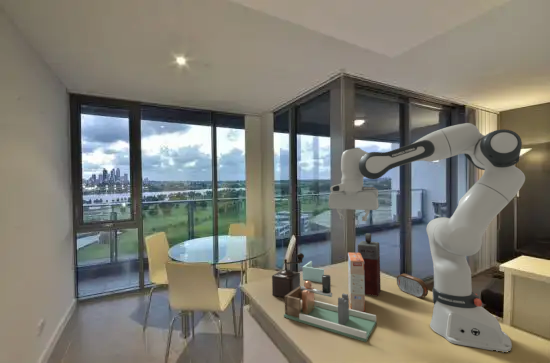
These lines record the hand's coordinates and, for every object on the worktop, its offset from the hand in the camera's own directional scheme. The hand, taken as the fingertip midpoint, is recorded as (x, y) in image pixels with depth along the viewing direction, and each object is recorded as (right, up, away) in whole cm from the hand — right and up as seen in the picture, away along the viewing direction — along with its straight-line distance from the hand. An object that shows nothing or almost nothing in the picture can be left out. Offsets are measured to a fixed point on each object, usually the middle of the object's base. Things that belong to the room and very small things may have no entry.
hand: (353, 220), depth 112 cm
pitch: (-12, -37, -9) cm, 40 cm away
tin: (+31, -37, +14) cm, 50 cm away
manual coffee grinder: (-25, -38, +20) cm, 50 cm away
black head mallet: (-16, -36, -6) cm, 40 cm away
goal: (-22, -37, -2) cm, 43 cm away
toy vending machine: (+12, -37, +18) cm, 43 cm away
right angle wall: (-9, -39, +38) cm, 55 cm away
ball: (-22, -35, -2) cm, 41 cm away
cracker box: (+3, -37, +4) cm, 38 cm away
